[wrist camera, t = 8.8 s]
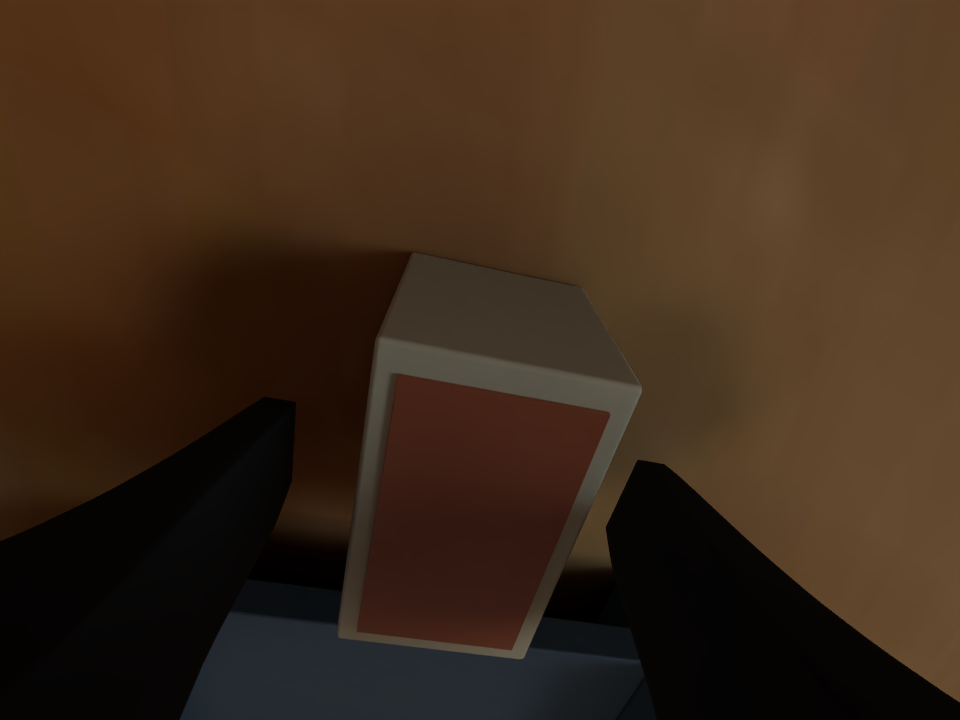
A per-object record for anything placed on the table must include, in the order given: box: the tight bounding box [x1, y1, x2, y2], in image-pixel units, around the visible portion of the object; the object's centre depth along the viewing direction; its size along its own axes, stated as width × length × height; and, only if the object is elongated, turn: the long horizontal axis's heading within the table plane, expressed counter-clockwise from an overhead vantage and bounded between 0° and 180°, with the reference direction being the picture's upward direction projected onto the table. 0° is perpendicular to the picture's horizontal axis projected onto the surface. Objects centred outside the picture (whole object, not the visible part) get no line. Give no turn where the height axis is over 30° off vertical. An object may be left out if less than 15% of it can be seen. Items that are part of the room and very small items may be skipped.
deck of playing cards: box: [337, 253, 642, 659], centre depth 10 cm, size 4×7×5 cm, turn 167°
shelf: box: [180, 579, 657, 720], centre depth 15 cm, size 15×10×5 cm, turn 78°
